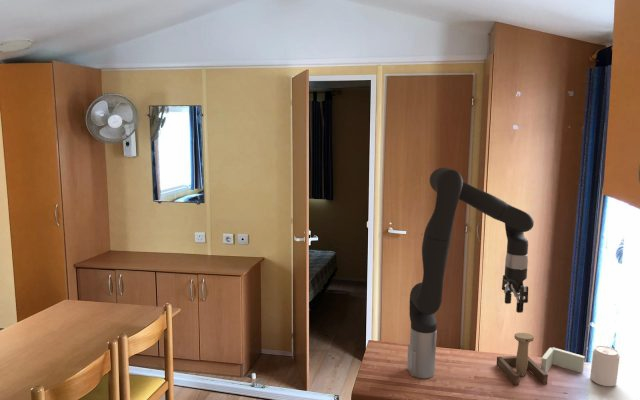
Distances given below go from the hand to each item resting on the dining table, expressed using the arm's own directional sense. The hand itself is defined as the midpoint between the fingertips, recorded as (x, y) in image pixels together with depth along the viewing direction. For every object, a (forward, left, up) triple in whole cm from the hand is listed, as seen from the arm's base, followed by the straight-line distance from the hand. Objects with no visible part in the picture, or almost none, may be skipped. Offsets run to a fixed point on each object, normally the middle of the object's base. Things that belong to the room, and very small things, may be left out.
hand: (513, 307), depth 178 cm
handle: (+2, -5, -24) cm, 24 cm away
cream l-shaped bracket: (+18, -2, -24) cm, 30 cm away
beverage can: (+29, -12, -24) cm, 39 cm away
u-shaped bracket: (+2, -5, -24) cm, 24 cm away
